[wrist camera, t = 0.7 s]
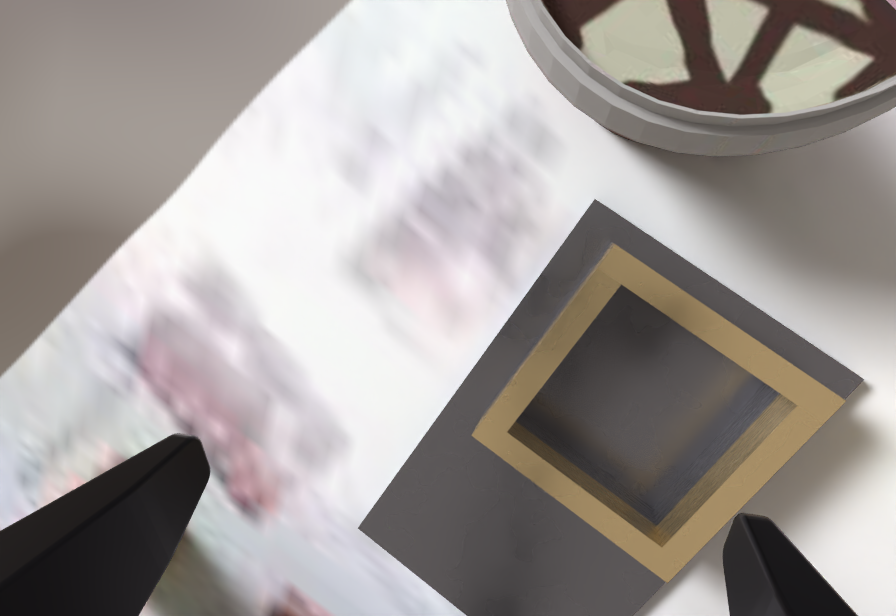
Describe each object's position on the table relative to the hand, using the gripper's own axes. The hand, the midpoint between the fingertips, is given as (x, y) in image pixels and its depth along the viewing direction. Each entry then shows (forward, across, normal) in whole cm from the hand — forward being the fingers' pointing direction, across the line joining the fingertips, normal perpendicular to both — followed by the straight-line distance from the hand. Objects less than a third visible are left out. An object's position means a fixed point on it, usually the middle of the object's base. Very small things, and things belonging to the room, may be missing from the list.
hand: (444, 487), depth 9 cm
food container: (+18, -4, -4) cm, 19 cm away
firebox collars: (+12, -3, +11) cm, 16 cm away
